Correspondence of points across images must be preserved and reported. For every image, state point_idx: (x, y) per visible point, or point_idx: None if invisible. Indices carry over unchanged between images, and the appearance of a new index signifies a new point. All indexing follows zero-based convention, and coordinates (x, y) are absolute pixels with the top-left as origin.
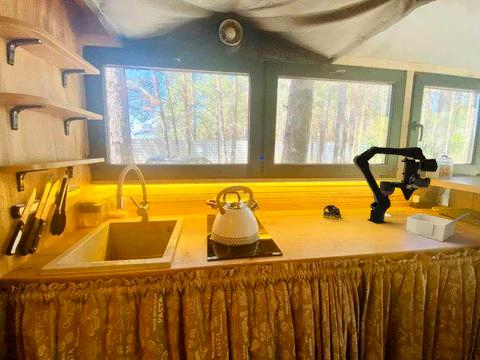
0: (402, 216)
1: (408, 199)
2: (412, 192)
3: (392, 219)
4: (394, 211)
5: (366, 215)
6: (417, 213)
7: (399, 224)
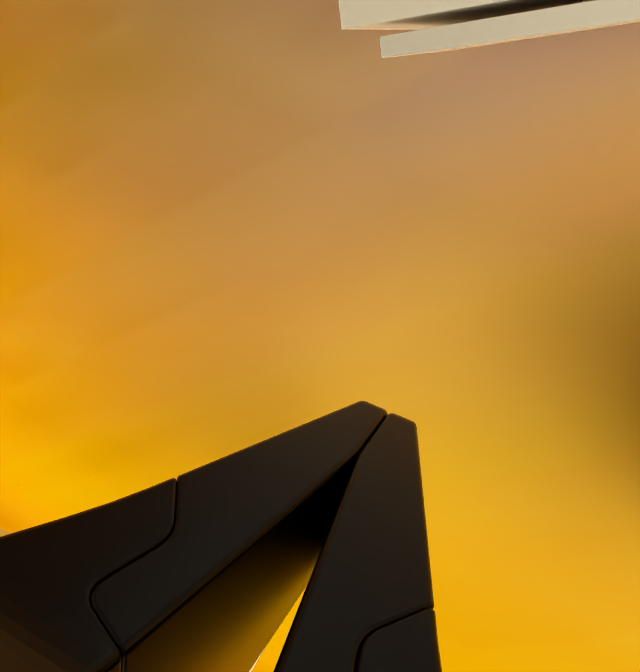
0: (197, 362)
1: (377, 424)
2: (100, 564)
3: (444, 392)
4: (119, 472)
5: (594, 650)
6: (414, 51)
7: (626, 236)
